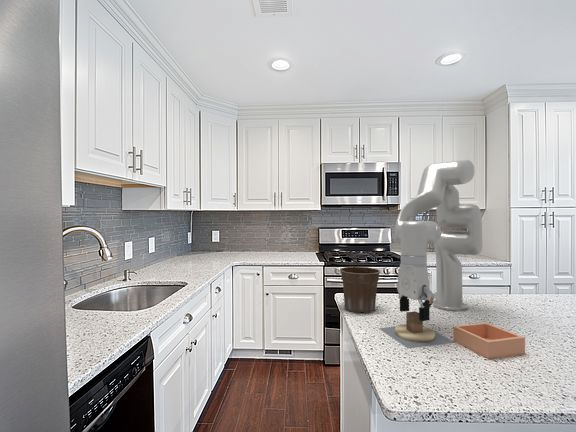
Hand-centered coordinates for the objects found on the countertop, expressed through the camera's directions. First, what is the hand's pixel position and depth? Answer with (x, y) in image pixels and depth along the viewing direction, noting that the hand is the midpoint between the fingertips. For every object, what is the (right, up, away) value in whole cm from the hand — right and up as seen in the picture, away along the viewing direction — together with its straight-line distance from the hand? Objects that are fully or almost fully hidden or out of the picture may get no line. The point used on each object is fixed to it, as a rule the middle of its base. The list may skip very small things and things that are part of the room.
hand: (413, 315), depth 95 cm
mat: (0, -7, 0) cm, 7 cm away
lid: (0, -6, 0) cm, 6 cm away
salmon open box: (+17, -7, -9) cm, 20 cm away
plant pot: (-10, -7, +30) cm, 32 cm away
